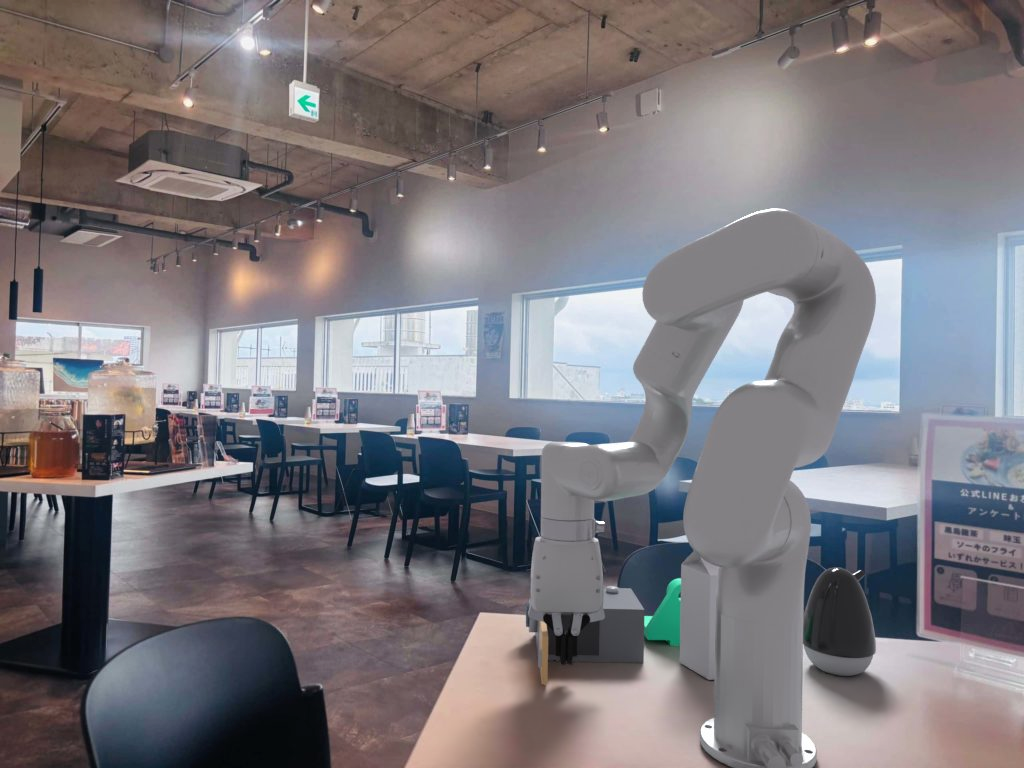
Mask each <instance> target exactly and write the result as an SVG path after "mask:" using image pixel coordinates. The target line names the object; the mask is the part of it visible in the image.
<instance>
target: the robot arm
mask: <svg viewBox="0 0 1024 768" xmlns="http://www.w3.org/2000/svg"><path fill="white" fill-rule="evenodd" d="M766 292H767V293H770V294H773V295H776V296H780V297H783V298H786V299H788V300H790V301H791V302H792V303H793V313H792V315H791V317H790V319H789V321H788V322H787V323H786V325H785V327H784V329H783V330H782V332H781V335H780V336H779V339H778V341H777V344H776V347H775V350H774V354H773V357H772V360H771V363H770V365H769V368H768V370H767V373H766V376H765V378H764V379H763V380H756V381H752V382H749V383H745V384H743V385H741V386H739V387H738V388H736V389H734V390H733V391H732V392H731V393H729V394H728V395H727V396H726V397H725V398H724V400H723V401H722V402H721V404H720V405H719V407H718V408H717V409H716V412H715V414H714V416H713V418H712V419H711V423H710V426H709V429H708V430H707V431H708V432H707V434H706V437H705V440H704V442H703V446H702V449H701V453H700V455H699V458H698V461H697V463H696V464H697V465H696V467H695V469H694V473H693V476H692V480H691V482H690V486H689V488H688V491H687V494H686V495H687V496H686V499H685V503H684V507H683V517H682V518H683V520H682V521H683V530H684V533H685V536H686V539H687V541H688V543H689V546H690V547H691V548H692V550H693V551H695V552H696V554H697V555H698V556H699V557H701V558H702V559H703V560H705V561H706V562H708V563H710V564H712V565H715V566H718V567H719V570H718V577H717V587H716V620H715V679H714V693H713V694H714V695H713V696H714V697H713V699H714V700H713V703H714V705H713V707H714V708H713V717H712V718H710V719H708V720H706V721H705V722H704V723H703V724H702V725H701V726H700V731H699V742H700V745H701V746H702V748H703V750H704V751H705V752H707V754H708V755H710V756H711V757H712V758H713V759H715V760H717V762H720V763H721V764H724V765H725V766H728V767H730V768H813V767H815V765H816V763H817V756H818V754H817V753H818V752H817V751H818V750H817V748H816V745H815V743H814V742H813V741H812V740H811V739H810V738H809V736H807V734H805V733H804V732H803V678H804V677H803V671H804V670H803V669H804V668H803V667H804V665H803V664H804V658H803V657H804V644H803V618H804V613H805V609H804V608H805V606H804V605H805V583H806V581H805V579H806V570H807V569H806V568H807V560H808V554H809V547H810V539H811V533H812V531H811V530H812V528H811V526H812V525H811V524H812V519H811V511H810V507H809V503H808V501H807V498H806V497H805V495H804V493H803V492H802V490H801V489H800V488H799V487H798V486H797V484H795V483H794V482H793V481H792V480H791V478H792V475H793V472H794V470H795V469H797V468H802V467H806V466H808V465H810V464H813V463H815V462H817V460H819V459H820V458H822V457H823V456H824V455H825V454H826V452H827V451H828V449H829V448H830V445H831V442H832V441H833V437H834V435H835V432H836V428H837V425H838V422H839V419H840V416H841V414H842V411H843V409H844V405H845V403H846V400H847V397H848V394H849V391H850V388H851V386H852V383H853V380H854V377H855V374H856V370H857V367H858V364H859V361H860V360H861V356H862V353H863V351H864V348H865V345H866V342H867V340H868V337H869V334H870V331H871V329H872V325H873V321H874V317H875V313H876V307H877V294H876V287H875V283H874V278H873V275H872V274H871V271H870V268H869V267H868V265H867V263H865V261H864V260H863V259H862V257H861V256H860V255H859V254H858V252H856V251H855V250H854V249H853V248H852V247H851V246H849V245H848V244H847V243H846V241H843V239H841V238H839V237H838V236H837V235H835V234H834V233H832V232H830V231H829V230H827V229H826V228H825V227H823V226H821V225H819V224H817V223H815V222H813V221H812V220H810V219H808V218H806V217H804V216H803V215H801V214H798V213H797V212H794V211H792V210H787V209H784V208H769V209H764V210H760V211H756V212H754V213H750V214H748V215H746V216H744V217H741V218H739V219H737V220H735V221H733V222H731V223H729V224H726V225H725V226H723V227H721V228H719V229H717V230H714V231H713V232H710V233H708V234H705V235H704V236H702V237H700V238H698V239H695V240H693V241H692V242H689V243H687V244H685V245H683V246H681V247H679V248H677V249H676V250H674V251H671V252H670V253H668V254H667V255H666V256H664V257H662V259H660V260H658V262H656V264H655V265H654V266H653V267H652V269H651V270H650V271H649V272H648V274H647V276H646V278H645V280H644V283H643V286H642V302H643V305H644V308H645V310H646V312H647V314H648V315H649V316H650V317H651V318H652V319H653V320H655V322H654V325H653V327H652V328H651V330H650V332H649V334H648V336H647V338H646V339H645V341H644V344H643V346H642V347H641V349H640V350H639V353H638V355H637V356H636V358H635V360H634V362H633V366H632V372H633V373H634V377H635V378H636V379H637V380H638V382H639V383H640V384H641V386H642V389H643V390H644V394H645V395H644V397H645V401H644V402H645V403H644V408H643V412H642V414H641V417H640V420H639V421H638V423H637V425H636V428H635V429H634V431H633V433H632V434H631V436H630V437H629V439H628V441H624V442H609V443H597V444H589V443H586V442H582V441H581V442H577V441H553V442H549V443H547V444H545V445H544V446H543V448H542V451H541V466H540V468H541V471H540V472H541V474H540V475H541V478H540V479H541V481H540V486H541V487H540V536H537V537H535V539H534V543H533V549H532V553H531V554H532V556H531V565H530V567H531V568H530V578H529V579H530V581H529V582H530V583H529V585H530V586H529V587H530V588H529V596H530V597H529V599H531V604H530V607H529V611H528V616H529V618H531V619H534V620H538V621H542V622H545V623H546V624H547V625H548V626H549V627H550V628H551V629H552V630H553V631H554V633H555V656H560V661H559V662H560V665H561V666H565V665H566V664H567V665H568V666H573V661H572V657H577V635H579V633H580V631H581V630H582V629H583V628H584V627H585V626H586V625H587V624H588V623H589V622H594V621H599V620H603V619H604V618H605V614H604V610H603V588H604V576H603V563H602V555H601V546H600V542H599V539H598V538H596V535H597V533H600V532H604V533H605V522H604V521H599V520H597V519H595V501H598V502H610V501H616V500H622V499H625V498H633V497H638V496H642V495H646V494H648V493H650V492H652V491H653V490H655V489H656V488H657V487H658V486H659V485H660V484H661V483H662V481H664V479H665V477H666V476H667V475H668V473H669V472H670V469H671V467H673V464H674V462H675V461H676V459H677V457H678V456H679V454H680V452H681V450H682V448H683V446H684V444H685V442H686V440H687V436H688V432H689V429H690V423H691V418H692V412H693V399H694V395H695V394H696V392H697V390H698V387H699V386H700V384H701V383H702V382H703V381H702V380H703V379H704V377H705V375H706V373H707V372H708V370H709V368H710V366H711V364H712V363H713V361H714V359H715V357H716V356H717V354H718V353H719V351H720V349H721V347H722V346H723V344H724V342H725V340H726V338H727V337H728V335H729V333H730V331H731V329H732V328H733V326H734V324H735V322H736V321H737V319H738V317H739V315H740V312H741V311H742V308H743V306H744V305H743V304H744V301H745V300H747V299H750V298H753V297H755V296H759V295H761V294H764V293H766ZM560 613H571V619H570V625H569V626H568V629H567V631H566V633H565V630H564V627H563V626H562V622H561V614H560Z"/></svg>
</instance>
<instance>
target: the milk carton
mask: <svg viewBox="0 0 1024 768" xmlns="http://www.w3.org/2000/svg"><path fill="white" fill-rule="evenodd" d="M718 570H719V567H718V566H715V565H712V564H710V563H708V562H706V561H705V560H703V559H702V558H701V557H699V556H698V555H697V554H696V552H695V551H694V550H693V551H692V552H691V553H690V554H689V555H688V556H687V557H686V558H685V559H684V561H683V562H682V563H681V566H680V578H681V592H680V598H681V609H680V646H679V663H680V664H681V665H683V666H685V667H686V668H688V669H690V670H691V671H692V672H695V673H696V674H698V675H700V676H701V677H703V678H705V679H706V680H707V681H713V680H714V681H715V620H716V587H717V577H718Z"/></svg>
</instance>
